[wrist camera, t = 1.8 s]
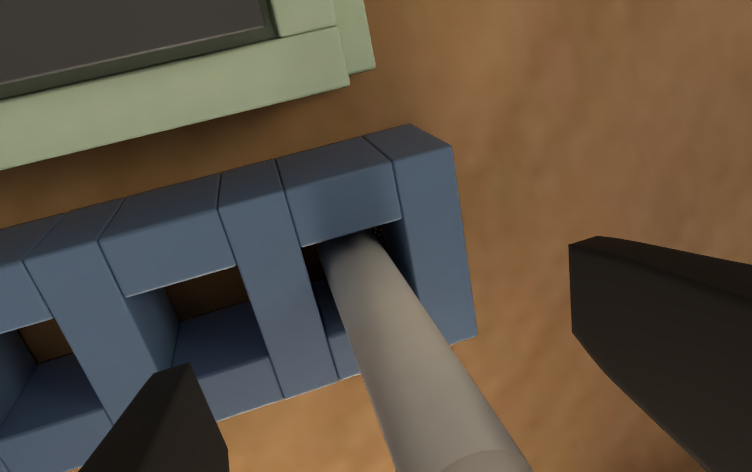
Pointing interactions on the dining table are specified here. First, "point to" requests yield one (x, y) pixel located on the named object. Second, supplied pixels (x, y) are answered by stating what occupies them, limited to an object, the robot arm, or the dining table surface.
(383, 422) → the white rounded rod
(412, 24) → the dining table surface
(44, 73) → the screen
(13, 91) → the pale green stepped tray
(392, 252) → the pen rack
